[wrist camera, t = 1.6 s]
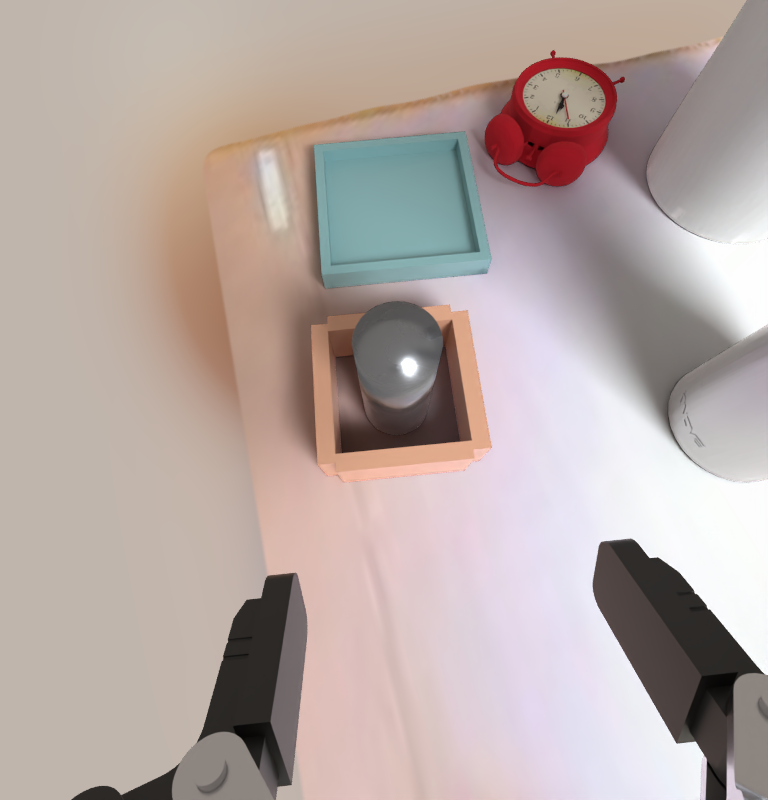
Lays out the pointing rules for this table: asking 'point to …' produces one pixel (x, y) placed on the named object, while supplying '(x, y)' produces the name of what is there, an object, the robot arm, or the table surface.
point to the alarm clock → (554, 120)
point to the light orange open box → (403, 460)
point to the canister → (397, 364)
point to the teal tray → (399, 210)
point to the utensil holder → (721, 141)
